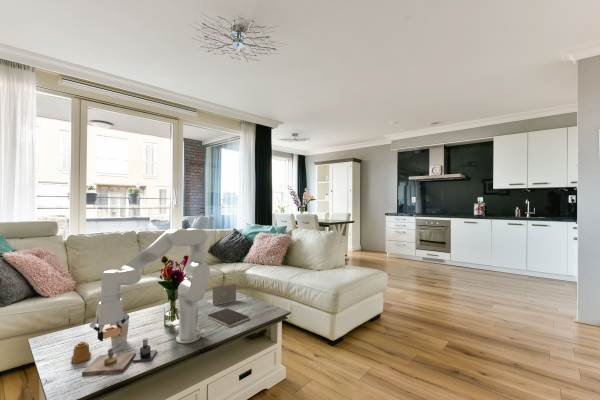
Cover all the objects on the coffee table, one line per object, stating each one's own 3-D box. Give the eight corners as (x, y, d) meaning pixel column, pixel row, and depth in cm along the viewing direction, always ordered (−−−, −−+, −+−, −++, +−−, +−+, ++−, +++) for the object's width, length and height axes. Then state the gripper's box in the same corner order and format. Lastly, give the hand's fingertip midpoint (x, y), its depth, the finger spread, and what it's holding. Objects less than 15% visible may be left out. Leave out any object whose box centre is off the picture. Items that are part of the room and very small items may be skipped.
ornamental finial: (67, 362, 133) (84, 354, 140) (77, 365, 131) (94, 357, 138) (67, 344, 133) (84, 337, 140) (78, 347, 131) (94, 340, 138)
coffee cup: (106, 348, 146) (106, 318, 146) (112, 339, 155) (112, 312, 155) (126, 345, 149) (126, 316, 149) (131, 337, 157) (131, 310, 157)
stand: (156, 352, 142) (157, 334, 142) (151, 360, 134) (151, 342, 134) (139, 353, 141) (139, 335, 141) (132, 362, 133) (132, 343, 133)
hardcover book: (228, 328, 171) (228, 324, 171) (207, 318, 186) (207, 314, 186) (249, 319, 183) (249, 316, 183) (227, 311, 198) (227, 307, 198)
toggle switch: (135, 355, 139) (135, 340, 139) (122, 372, 125) (122, 355, 125) (99, 358, 137) (99, 342, 137) (81, 375, 123) (82, 358, 123)
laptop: (229, 296, 228) (229, 280, 228) (236, 300, 218) (236, 283, 218) (207, 301, 217) (207, 283, 217) (212, 305, 207) (212, 287, 207)
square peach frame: (114, 330, 135) (114, 324, 135) (120, 334, 131) (120, 328, 131) (98, 335, 130) (99, 329, 130) (104, 339, 126) (104, 333, 126)
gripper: (127, 291, 140) (126, 329, 140) (85, 300, 126) (83, 342, 126) (134, 294, 136) (133, 333, 135) (91, 304, 122) (90, 347, 122)
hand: (109, 337), depth 131 cm, fingers closed on square peach frame, 6 cm apart
